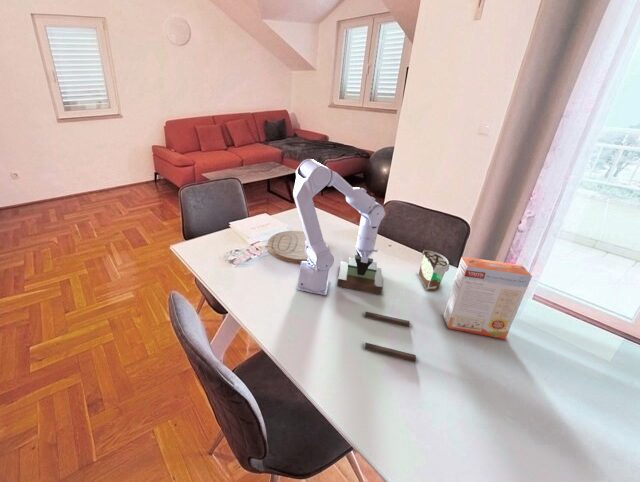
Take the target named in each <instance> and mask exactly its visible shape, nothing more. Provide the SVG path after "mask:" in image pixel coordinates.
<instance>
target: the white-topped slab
mask: <svg viewBox="0 0 640 482" xmlns="http://www.w3.org/2000/svg"><path fill="white" fill-rule="evenodd" d="M347 267H348V261H347V262H346V261H342V260H341V261H340V263H339V269H338V270H339V271H338V277H337V287H341V288H345V289H351V290H355V291H360V292H365V293H371V294H376V295H382V291H383V277H382V268H381V267H377V272H376V275H375V279H374V280H373V279H367V278H362V277H357V276H351V275H347Z"/></svg>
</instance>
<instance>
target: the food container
mask: <svg viewBox="0 0 640 482" xmlns="http://www.w3.org/2000/svg"><path fill="white" fill-rule="evenodd" d="M421 254H422V255H421V261H420V264H419V265H420V266H419V270H418V274H417V275H418V277H419V279H420V281H421V283H422V284H423V286H424V288H425V290H426V291H436V290H438V289H439V287H440V285H441V283H442V280H443V278H444V276H445V273H446V272H448V271H449V270H450V262H449V260H448V258H447V257H446V256H444V255H443V254H440V253H438V252H436V251H433V250H428V249H423V251H422V253H421Z"/></svg>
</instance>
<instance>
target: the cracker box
mask: <svg viewBox="0 0 640 482" xmlns="http://www.w3.org/2000/svg"><path fill="white" fill-rule="evenodd" d="M532 277H533V275H532V274H531V273H530V272H529V271H528V269H526V268H525V267H524V266H523V265H522V264H519V263H518V264H517V263H510V262H503V261H497V260H496V261H494V260H488V259H482V258H481V259H480V258H475V257H474V258H473V257H468V256H467V257H466V256H461V258H460V260H459V264H458V268H457V271H456V274H455V277H454V280H453V283H452V286H451V289H450V293H449V296H448V300H447V303H446V306H445V310H444V313H443V318H444V322H445V324H446V326H447V329H450V330H456V331H460V332H465V333H471V334H475V335H481V336H486V337H491V338H495V339H501V340H506V339H507V336H508V334H509V332H510V329H511V327H512V325H513V323H514V320H515V318H516V315H517V313H518V310H519V308H520V306H521V303H522V301H523V299H524V297H525V294H526V291H527V290H528V287H529V284H530V282H531V280H532Z"/></svg>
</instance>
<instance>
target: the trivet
mask: <svg viewBox="0 0 640 482" xmlns="http://www.w3.org/2000/svg"><path fill="white" fill-rule="evenodd" d="M323 240H324V242H325V244H326V245H327V247H328V248H329V245H328V243H327V241H326V240H325V239H323ZM305 241H306V236H305V233H304V231H301V230H287V231H281V232H278V233H275V234H273V235H272V236H270V237H269V239H268V242H267V250H268V251H269V253H270V254H271V255H272V256H273V257H275V258H277V259H279V260H281V261H284V262H286V263H292V264H300V265H301V262H302V261H307V259H308V256H307V255H306V253H305V247H306V244H305ZM268 246H269V247H268ZM269 248H270V249H269Z"/></svg>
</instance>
